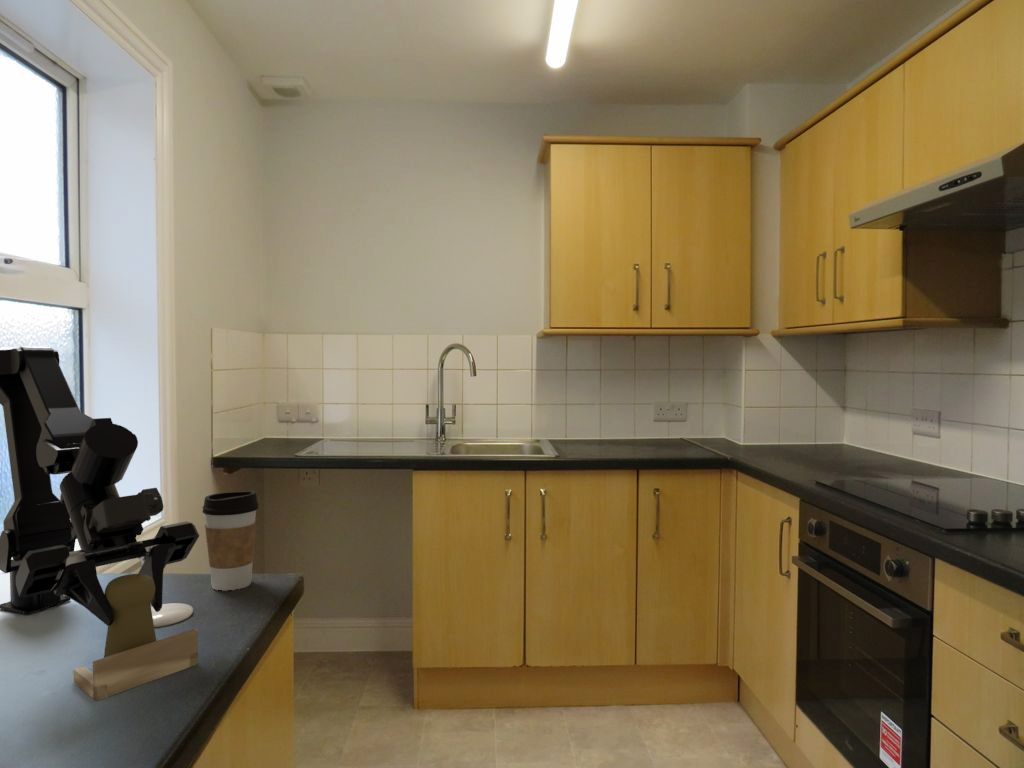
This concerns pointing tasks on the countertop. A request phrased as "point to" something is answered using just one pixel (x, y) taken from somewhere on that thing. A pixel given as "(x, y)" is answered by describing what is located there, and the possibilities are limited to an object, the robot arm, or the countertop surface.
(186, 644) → the holder
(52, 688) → the countertop surface
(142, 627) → the cork
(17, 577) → the robot arm
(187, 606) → the saucer
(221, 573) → the coffee cup
